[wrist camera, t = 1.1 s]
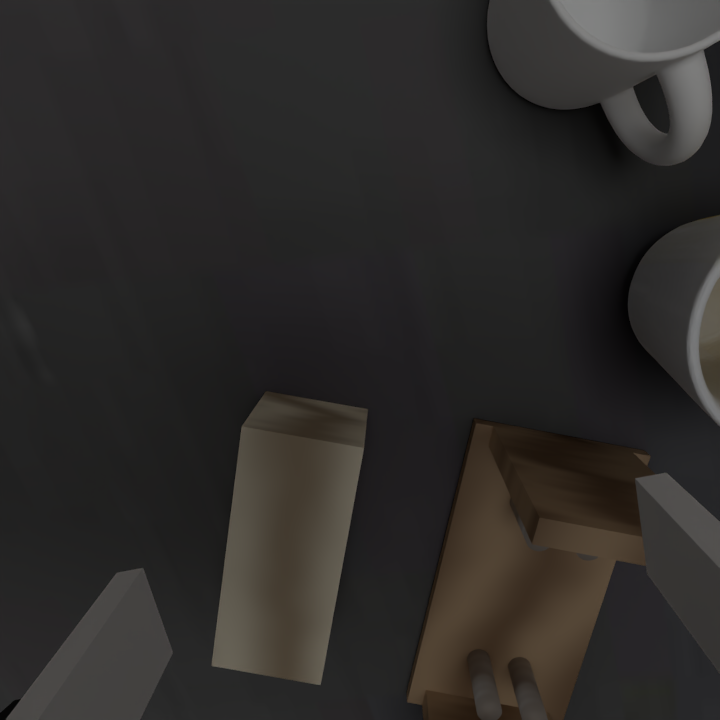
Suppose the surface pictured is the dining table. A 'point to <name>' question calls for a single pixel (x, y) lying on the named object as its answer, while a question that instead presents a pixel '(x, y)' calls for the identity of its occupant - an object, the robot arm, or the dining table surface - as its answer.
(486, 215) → the dining table surface
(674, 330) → the mug
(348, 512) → the beige wooden block
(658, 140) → the mug
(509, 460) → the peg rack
